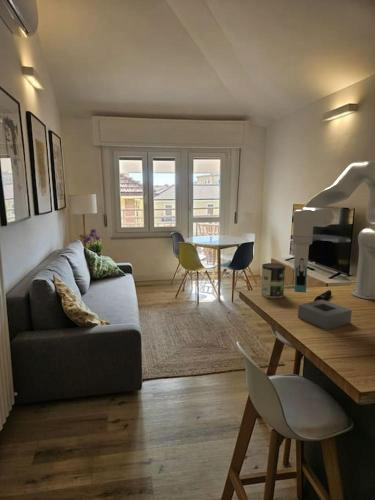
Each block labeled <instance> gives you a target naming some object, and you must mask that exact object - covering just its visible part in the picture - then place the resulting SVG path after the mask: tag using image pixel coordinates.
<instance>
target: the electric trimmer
mask: <svg viewBox="0 0 375 500" xmlns="http://www.w3.org/2000/svg"><path fill="white" fill-rule="evenodd" d="M331 296H332V291H331V290H330V289H328V290H326V291H324V292H323V293H321V294H319V295H318V296H317V295H316V297H315V298H314V300H313V302H314V301H318V300H325V301H326V300H329V299H330V298H331Z"/></svg>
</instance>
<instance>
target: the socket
mask: <svg viewBox="0 0 375 500" xmlns="http://www.w3.org/2000/svg"><path fill="white" fill-rule="evenodd" d="M297 307H298V308H297V309H298V310H297V318H299V319H301V320H303V321H306V322H307V323H310V324H312V325H314V326H316V327H319V328H321V329H323V330H325V331H328V330H332V329H335V328H338V327H342V326H345V325H348V324H351V321H352V313H353V312H352V310H351V309H349V308H347V307H345V306H344V307H343V306H341V305H339V304H336V303H333V302H330V301H327V300H326V299H325V300H318V301H314V300H313V301H310V302H306V303H300V304H298V306H297Z"/></svg>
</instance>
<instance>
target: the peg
mask: <svg viewBox="0 0 375 500" xmlns="http://www.w3.org/2000/svg"><path fill="white" fill-rule="evenodd" d="M299 268H300V267H299ZM303 268H304V267H303ZM297 275H298V268H296V269H295V268H294V292H295V293H305V294H306V293H307V282H308V281H307V277H308V276H307V275H308V267H307V268H306V269H305V285H297Z"/></svg>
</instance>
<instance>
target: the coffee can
mask: <svg viewBox="0 0 375 500" xmlns="http://www.w3.org/2000/svg"><path fill="white" fill-rule="evenodd" d="M261 267H262V269H261V290H260V291H261V293H260V294H261V296H263V297H264V298H265V297H266V298H270V299H279V298H282V297H284V294H285V293H284V292H285V290H284V289H285V288H284V287H285V273H286V266H285V264H282V263H275V262H274V263H273V262H270V263H268V262H266V263H263V264H262V266H261Z"/></svg>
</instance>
